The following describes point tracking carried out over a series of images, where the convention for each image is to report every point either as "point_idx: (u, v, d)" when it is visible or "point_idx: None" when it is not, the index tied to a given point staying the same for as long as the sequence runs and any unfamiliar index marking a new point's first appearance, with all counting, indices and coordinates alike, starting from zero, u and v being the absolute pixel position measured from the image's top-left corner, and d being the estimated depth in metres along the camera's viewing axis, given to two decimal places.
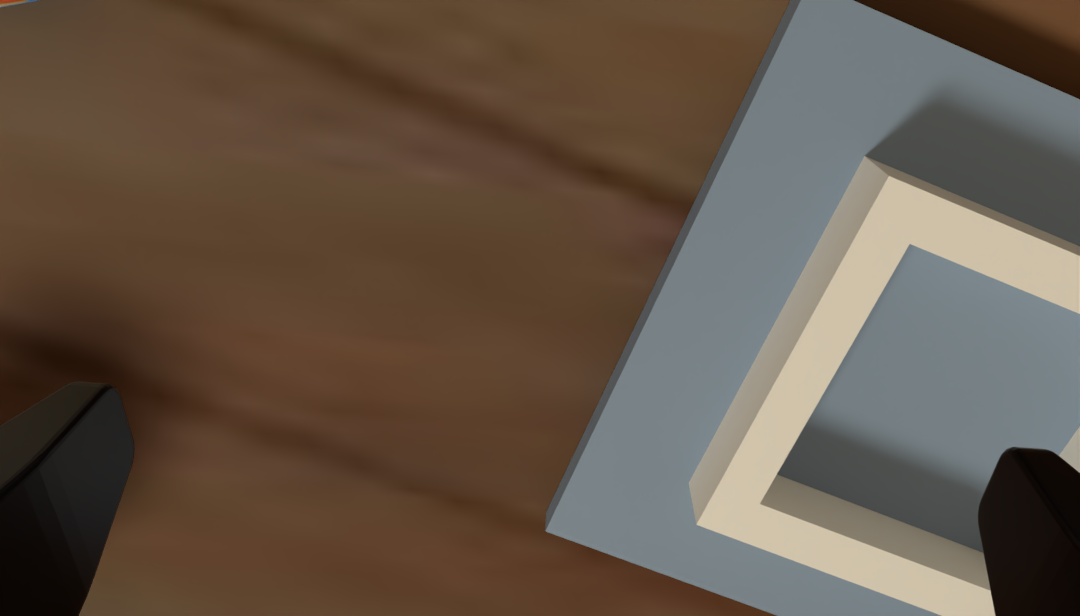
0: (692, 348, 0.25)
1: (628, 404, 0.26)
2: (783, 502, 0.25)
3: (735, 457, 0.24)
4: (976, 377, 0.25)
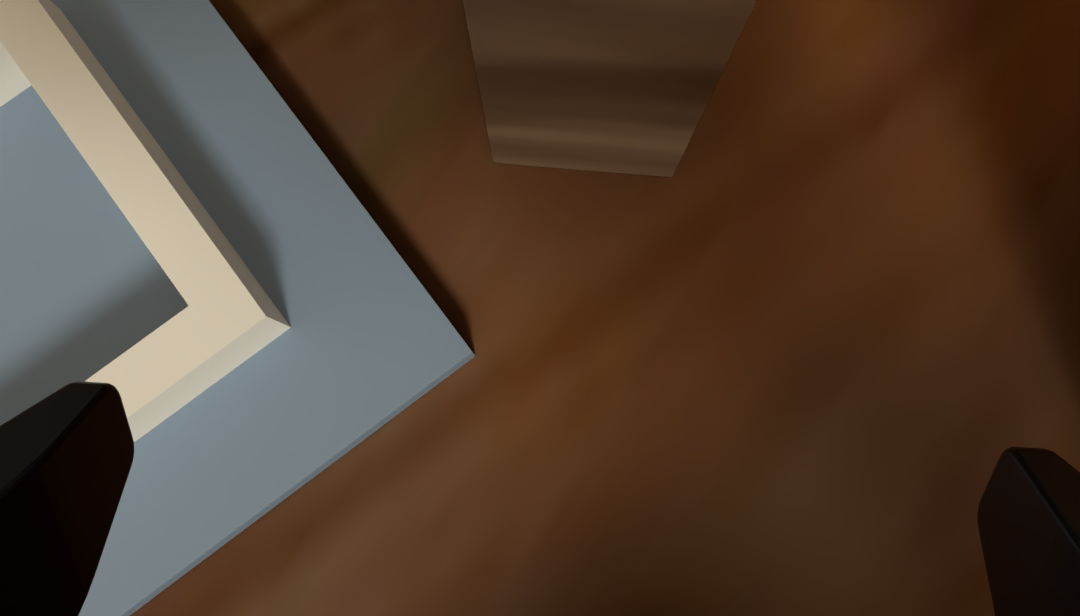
0: None
1: None
2: None
3: None
4: None
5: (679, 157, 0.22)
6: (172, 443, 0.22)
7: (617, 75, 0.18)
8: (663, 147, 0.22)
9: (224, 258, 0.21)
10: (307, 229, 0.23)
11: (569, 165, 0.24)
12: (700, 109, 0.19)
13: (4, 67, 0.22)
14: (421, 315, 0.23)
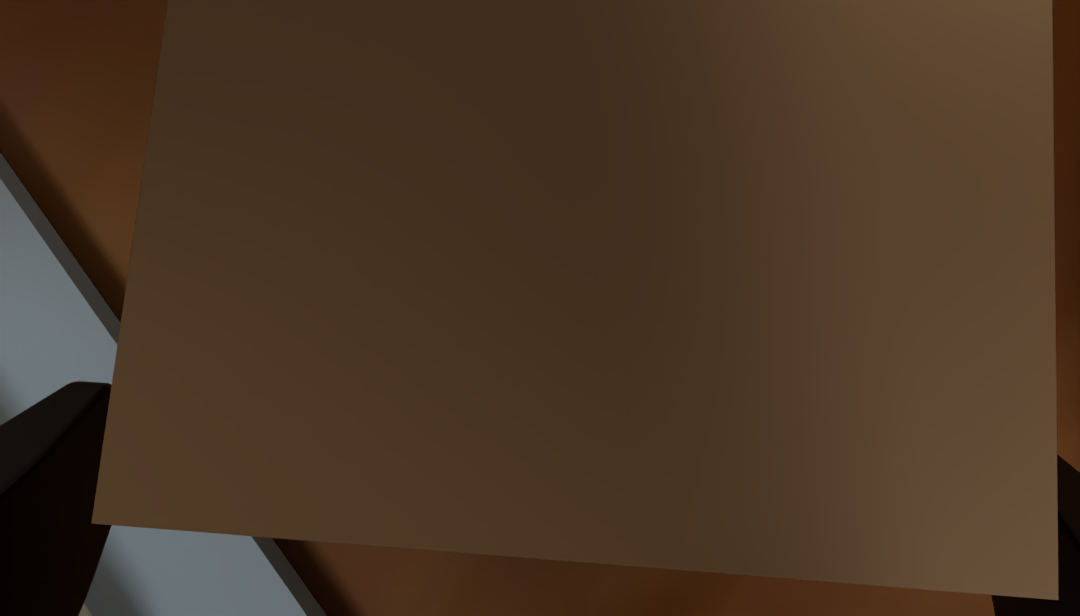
0: None
1: None
2: None
3: None
4: None
5: None
6: None
7: None
8: None
9: None
10: (192, 592, 0.17)
11: None
12: None
13: None
14: None
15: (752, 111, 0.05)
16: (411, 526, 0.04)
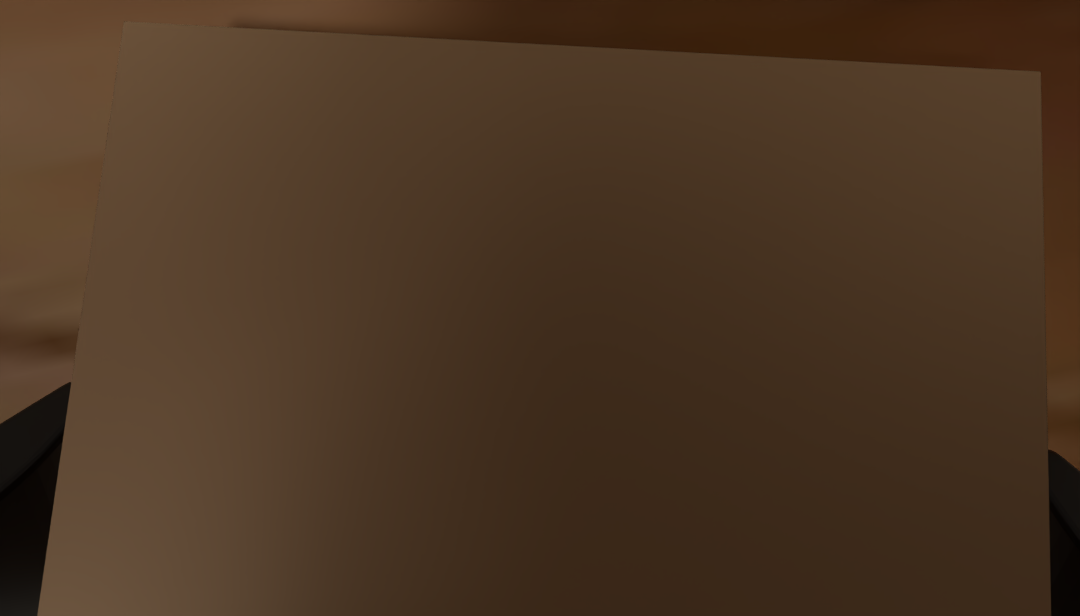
0: None
1: None
2: None
3: None
4: None
5: None
6: None
7: None
8: None
9: None
10: None
11: None
12: None
13: None
14: None
15: (715, 525, 0.04)
16: None
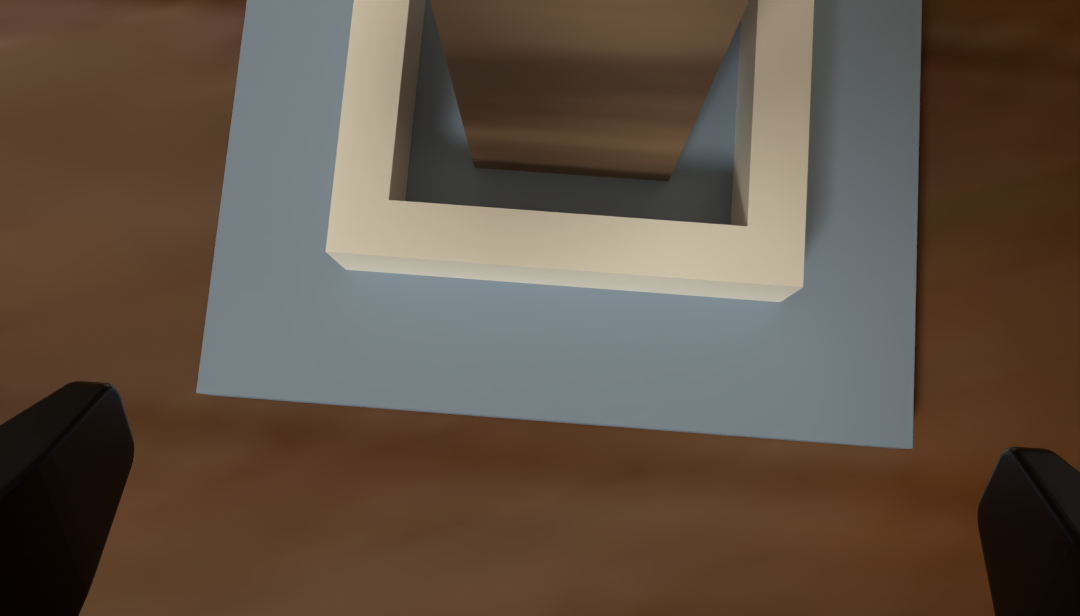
0: (293, 109, 0.22)
1: (245, 194, 0.22)
2: None
3: (338, 151, 0.20)
4: None
5: (676, 159, 0.20)
6: (612, 314, 0.22)
7: (604, 66, 0.16)
8: (658, 148, 0.20)
9: (805, 212, 0.20)
10: (856, 235, 0.22)
11: (556, 170, 0.22)
12: (698, 104, 0.17)
13: None
14: (894, 382, 0.21)
15: None
16: None
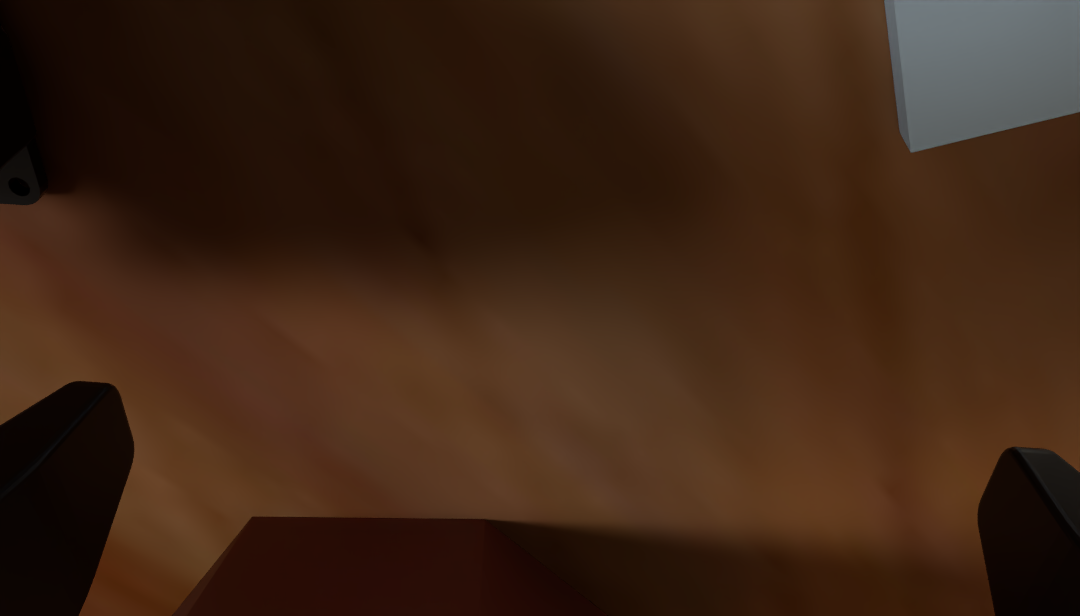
0: None
1: None
2: None
3: None
4: None
5: None
6: None
7: None
8: None
9: None
10: None
11: None
12: None
13: None
14: (979, 118, 0.20)
15: None
16: None
